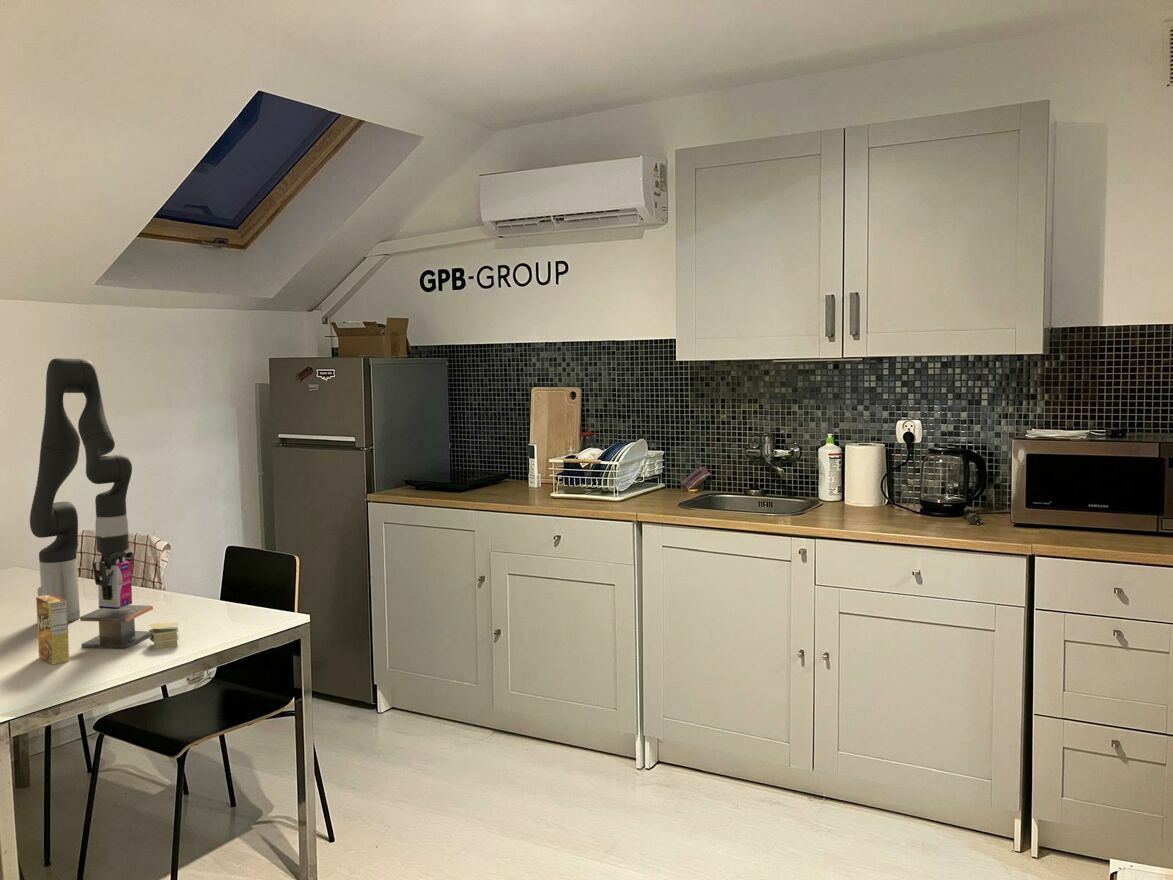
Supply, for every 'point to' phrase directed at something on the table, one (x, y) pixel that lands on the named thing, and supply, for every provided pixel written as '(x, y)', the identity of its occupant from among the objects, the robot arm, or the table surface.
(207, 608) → the table surface
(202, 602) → the table surface
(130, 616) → the stand
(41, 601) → the candy box
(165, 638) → the tan layered block
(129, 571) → the supplement box
